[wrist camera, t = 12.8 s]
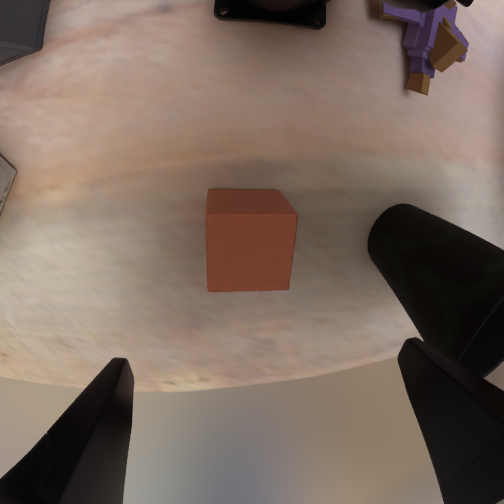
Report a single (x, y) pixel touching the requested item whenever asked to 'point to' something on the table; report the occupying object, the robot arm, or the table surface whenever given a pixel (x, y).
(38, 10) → the cabinet
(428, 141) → the table surface
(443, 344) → the cup
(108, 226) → the table surface
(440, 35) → the toy figure
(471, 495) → the robot arm
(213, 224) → the block
